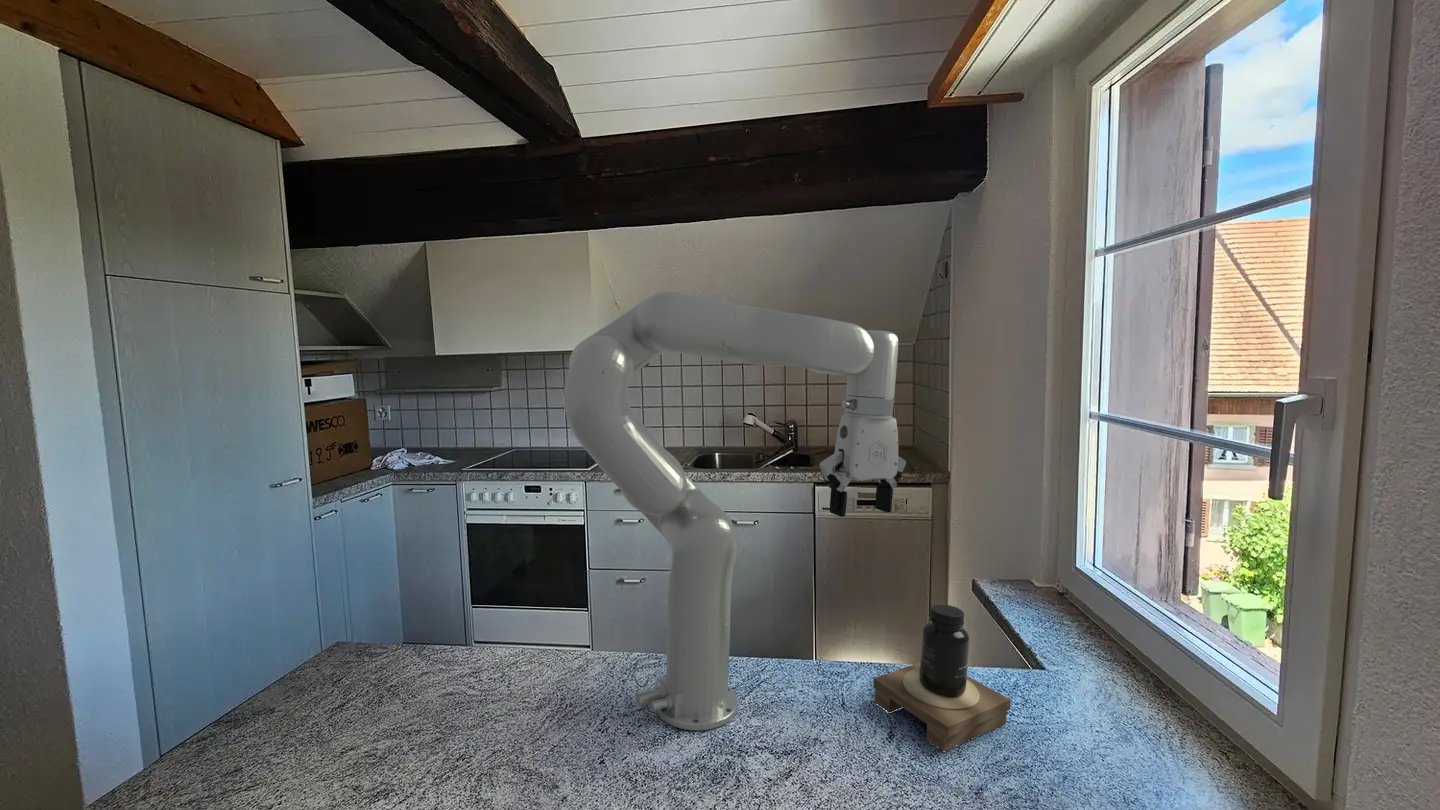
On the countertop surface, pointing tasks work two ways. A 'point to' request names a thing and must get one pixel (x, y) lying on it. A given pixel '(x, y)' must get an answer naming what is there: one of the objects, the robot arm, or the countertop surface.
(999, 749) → the countertop surface
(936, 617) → the supplement bottle
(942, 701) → the walnut stand
